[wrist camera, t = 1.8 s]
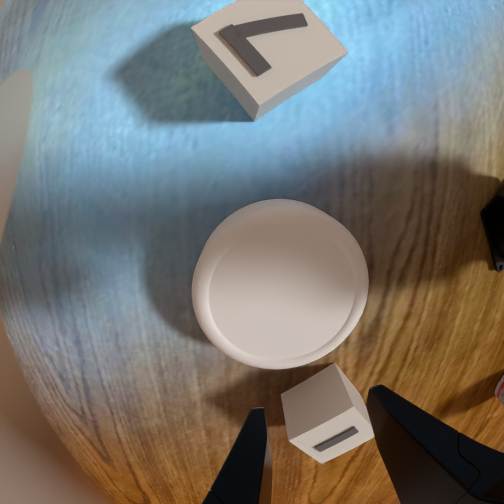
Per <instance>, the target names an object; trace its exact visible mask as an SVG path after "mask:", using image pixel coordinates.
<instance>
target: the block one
mask: <svg viewBox="0 0 504 504" xmlns="http://www.w3.org/2000/svg"><path fill="white" fill-rule="evenodd" d="M281 399H282V405H283V411H284V417H285V423H286V429H287V435H288V441H290V442H291V443H292V444H294V445H295V446H297V447H298V448H299V449H301V450H302V451H304V452H305V453H307V454H308V455H310V456H311V457H312V458H314V459H315V460H317V461H318V462H320V463H321V464H322V463H324V462H327V461H329V460H331V459H333V458H335V457H337V456H339V455H341V454H343V453H345V452H347V451H349V450H351V449H353V448H355V447H357V446H359V445H360V444H362V443H364V442H366V441H368V440H369V439H371V438H373V437H375V436H374V433H373V429H372V426H371V422H370V419H369V415H368V412H367V408H366V406H365V404H364V402H363V400H362V398H361V395H360V394H359V392H358V391H357V390H356V389H355V387H354V386H353V385H352V384H351V382H350V381H349V380H348V378H347V377H346V376H345V375H344V373H343V372H342V371H341V370H340V368H339V367H338V366H337V365H336V363H335V362H334V363H333V364H331V365H330V366H328V367H326V368H325V369H323V370H322V371H320V372H318V373H317V374H315V375H313V376H312V377H310V378H308V379H307V380H305V381H303V382H301V383H300V384H298V385H296V386H294V387H293V388H291V389H289V390H287V391H285V392H284V393H282V394H281Z"/></svg>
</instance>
